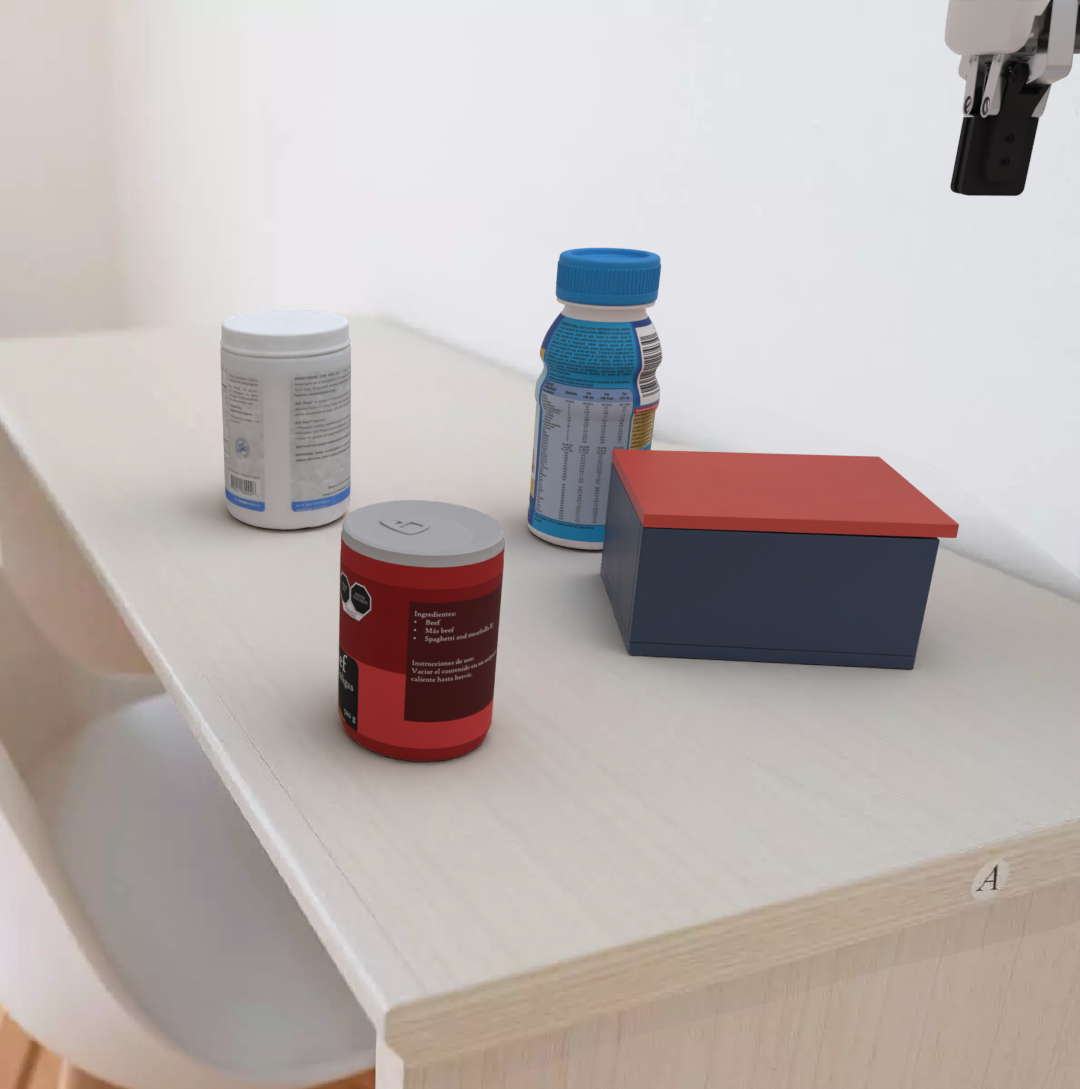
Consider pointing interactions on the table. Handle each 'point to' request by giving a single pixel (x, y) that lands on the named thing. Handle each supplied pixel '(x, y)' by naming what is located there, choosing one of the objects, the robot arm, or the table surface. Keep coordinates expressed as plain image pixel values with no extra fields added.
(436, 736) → the canned food
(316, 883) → the table surface
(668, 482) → the lid
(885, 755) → the table surface
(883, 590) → the storage box
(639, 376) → the beverage bottle
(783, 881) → the table surface
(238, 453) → the supplement tub
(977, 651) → the table surface
